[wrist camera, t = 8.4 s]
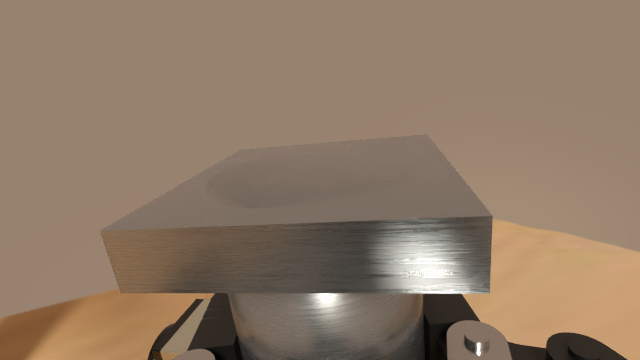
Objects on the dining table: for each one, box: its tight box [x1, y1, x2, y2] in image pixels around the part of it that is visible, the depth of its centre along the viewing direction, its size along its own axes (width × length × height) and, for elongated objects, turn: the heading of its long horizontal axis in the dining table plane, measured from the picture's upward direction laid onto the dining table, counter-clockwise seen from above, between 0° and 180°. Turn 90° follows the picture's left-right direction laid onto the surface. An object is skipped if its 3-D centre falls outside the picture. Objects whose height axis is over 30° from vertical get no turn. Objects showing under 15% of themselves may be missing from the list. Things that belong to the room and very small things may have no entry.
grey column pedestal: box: [100, 135, 492, 360], centre depth 9 cm, size 6×6×11 cm
